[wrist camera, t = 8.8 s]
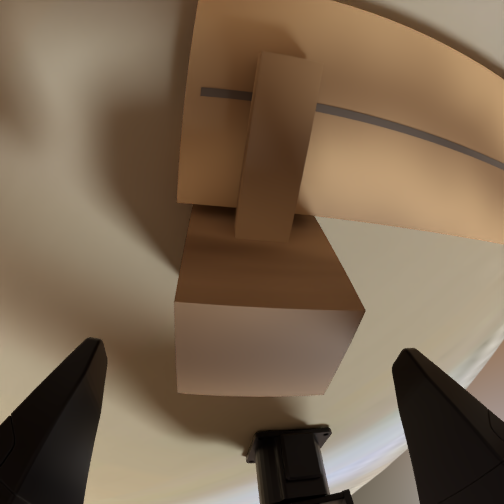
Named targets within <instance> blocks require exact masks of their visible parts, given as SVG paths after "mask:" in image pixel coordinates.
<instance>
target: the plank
mask: <svg viewBox="0 0 504 504" xmlns="http://www.w3.org/2000/svg"><path fill="white" fill-rule="evenodd" d="M262 51H264V52H270V53H276V54H282V55H288V56H293V57H298V58H303V59H308V60H313V61H317V62H322V63H324V66H323V72H322V78H321V83H320V89H319V94H318V100H317V105H316V110H315V116H314V121H313V126H312V131H311V136H310V141H309V146H308V152H307V156H306V161H305V166H304V171H303V176H302V181H301V186H300V191H299V195H298V200H297V205H296V209H295V214H302V215H311V216H319V217H328V218H336V219H344V220H352V221H359V222H367V223H374V224H381V225H389V226H396V227H402V228H409V229H416V230H422V231H429V232H435V233H441V234H448V235H454V236H460V237H466V238H471V239H477V240H483V241H488V242H494V243H499V244H504V79H502V78H501V77H499V76H498V75H496V74H495V73H493V72H492V71H490V70H489V69H487V68H486V67H484V66H482V65H481V64H479V63H477V62H476V61H474V60H472V59H471V58H469V57H467V56H465V55H464V54H462V53H460V52H458V51H456V50H455V49H453V48H451V47H449V46H447V45H445V44H443V43H441V42H439V41H437V40H435V39H433V38H431V37H429V36H427V35H425V34H423V33H420V32H418V31H416V30H414V29H411V28H409V27H407V26H404V25H402V24H400V23H397V22H395V21H392V20H390V19H387V18H384V17H382V16H379V15H376V14H374V13H371V12H368V11H365V10H362V9H359V8H356V7H353V6H349V5H346V4H343V3H339V2H336V1H332V0H198V6H197V11H196V17H195V24H194V30H193V37H192V43H191V50H190V58H189V65H188V73H187V82H186V90H185V99H184V109H183V119H182V130H181V142H180V155H179V170H178V187H177V203H187V204H199V205H211V206H223V207H234V208H237V200H238V193H239V185H240V178H241V171H242V163H243V156H244V149H245V142H246V135H247V128H248V121H249V114H250V108H251V101H252V94H253V88H254V81H255V75H256V68H257V62H258V55H259V53H260V52H262Z"/></svg>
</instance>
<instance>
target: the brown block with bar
mask: <svg viewBox="0 0 504 504" xmlns="http://www.w3.org/2000/svg"><path fill="white" fill-rule="evenodd" d="M323 66H324V63H322V62H317V61H313V60H308V59H303V58H298V57H293V56H288V55H282V54H276V53H270V52H264V51H262V52H260V53H259V55H258V62H257V68H256V75H255V81H254V88H253V94H252V101H251V108H250V114H249V121H248V128H247V135H246V142H245V149H244V156H243V163H242V171H241V178H240V185H239V193H238V200H237V208H234V207H223V206H211V205H199V204H193V207H192V212H191V217H190V222H189V226H188V231H187V236H186V241H185V246H184V251H183V257H182V262H181V267H180V273H179V278H178V284H177V289H176V295H175V301H174V312H175V351H176V374H177V391H178V393H183V394H197V395H215V396H247V397H276V396H309V395H324V393H325V392H326V390H327V388H328V386H329V384H330V382H331V381H332V379H333V377H334V375H335V373H336V371H337V369H338V367H339V365H340V363H341V361H342V359H343V357H344V355H345V353H346V351H347V349H348V347H349V345H350V343H351V341H352V339H353V337H354V335H355V333H356V331H357V328H358V326H359V324H360V322H361V320H362V318H363V315H364V313H365V311H366V310H365V308H364V307H363V305H362V303H361V301H360V299H359V297H358V295H357V293H356V291H355V289H354V287H353V285H352V283H351V282H350V280H349V278H348V276H347V274H346V272H345V270H344V268H343V267H342V265H341V263H340V261H339V259H338V257H337V256H336V254H335V252H334V250H333V248H332V246H331V245H330V243H329V241H328V239H327V238H326V236H325V234H324V232H323V230H322V229H321V227H320V225H319V223H318V222H317V220H316V218H315V217H314V216H311V215H302V214H295V209H296V205H297V200H298V195H299V191H300V186H301V181H302V176H303V171H304V166H305V161H306V156H307V152H308V146H309V141H310V136H311V131H312V126H313V121H314V116H315V110H316V105H317V100H318V94H319V89H320V83H321V78H322V72H323Z"/></svg>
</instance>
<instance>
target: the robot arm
mask: <svg viewBox="0 0 504 504" xmlns="http://www.w3.org/2000/svg"><path fill="white" fill-rule="evenodd" d="M106 370H107V356H106V352H105V348H104V344H103V341H102V340H101V339H98V338H92V337H89V338H87V339H85V340H84V341H83V342H82V343H81V344H80V345H79V346H78V347H77V348H76V349H75V350H74V351H73V352H72V353H71V354H70V355H69V356H68V357H67V358H66V359H65V360H64V361H63V362H62V363H61V364H60V365H59V366H58V367H57V368H56V369H55V370H54V371H53V372H52V373H51V374H50V375H49V376H48V377H47V378H46V379H45V380H44V381H43V382H42V383H41V384H40V385H39V386H38V387H37V388H36V389H35V390H34V391H33V392H32V393H31V394H30V395H29V396H28V397H27V398H26V399H25V400H24V401H23V402H22V403H21V404H20V405H19V406H18V407H17V408H16V409H15V410H14V411H13V412H12V413H11V416H8V417H7V419H6V420H5V421H4V422H3V423H2V424H1V425H0V504H83V502H84V496H85V490H86V483H87V478H88V472H89V467H90V461H91V456H92V451H93V446H94V441H95V437H96V432H97V428H98V423H99V419H100V414H101V408H102V400H103V392H104V385H105V377H106ZM392 374H393V380H394V385H395V391H396V397H397V403H398V408H399V413H400V417H401V421H402V425H403V429H404V433H405V437H406V441H407V445H408V449H409V453H410V458H411V462H412V466H413V471H414V476H415V481H416V485H417V490H418V495H419V501H420V504H504V422H503V421H502V420H501V419H499V418H498V417H497V416H496V415H495V414H493V413H492V412H491V411H490V410H489V409H487V408H486V407H485V406H484V405H483V404H482V403H480V402H479V401H478V400H477V399H476V398H475V397H473V396H472V395H471V394H470V393H469V392H468V391H466V390H465V389H464V388H463V387H462V386H460V385H459V384H458V383H457V382H456V381H454V380H453V379H452V378H451V377H450V376H448V375H447V374H446V373H445V372H444V371H442V370H441V369H440V368H439V367H438V366H436V365H435V364H434V363H433V362H431V361H430V360H429V359H428V358H427V357H425V356H424V355H423V354H422V353H420V352H419V351H418V350H417V349H415V348H405V349H403V350H402V351H401V353H400V354H399V356H398V357H397V359H396V361H395V362H394V364H393V366H392ZM331 434H332V432H331V429H330V428H322V429H310V430H296V431H275V432H258V433H256V434H255V435H254V438H253V441H252V443H251V446H250V449H249V452H248V454H247V457H246V462H247V463H256V471H257V481H258V491H259V500H260V504H353V500H352V497H351V494H350V491H349V489H348V490H344V491H342V492H340V493H335V494H331V495H330V492H329V487H328V483H327V478H326V473H325V469H324V464H323V460H322V455H321V451H320V448H321V447H322V446H323V444H324V443H325V442H326V440H327V439H328V438H329V436H330V435H331Z"/></svg>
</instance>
